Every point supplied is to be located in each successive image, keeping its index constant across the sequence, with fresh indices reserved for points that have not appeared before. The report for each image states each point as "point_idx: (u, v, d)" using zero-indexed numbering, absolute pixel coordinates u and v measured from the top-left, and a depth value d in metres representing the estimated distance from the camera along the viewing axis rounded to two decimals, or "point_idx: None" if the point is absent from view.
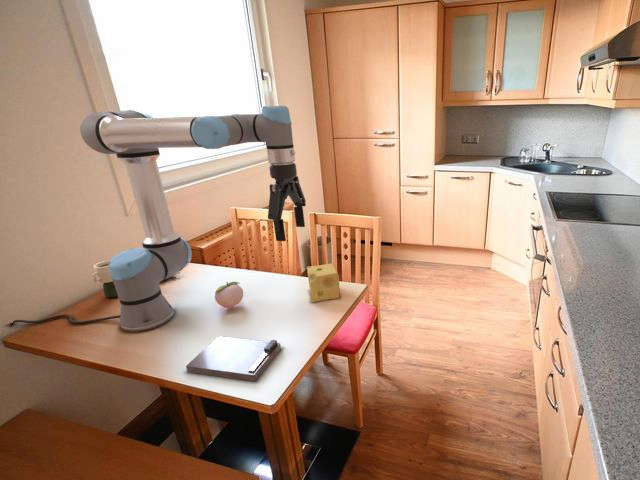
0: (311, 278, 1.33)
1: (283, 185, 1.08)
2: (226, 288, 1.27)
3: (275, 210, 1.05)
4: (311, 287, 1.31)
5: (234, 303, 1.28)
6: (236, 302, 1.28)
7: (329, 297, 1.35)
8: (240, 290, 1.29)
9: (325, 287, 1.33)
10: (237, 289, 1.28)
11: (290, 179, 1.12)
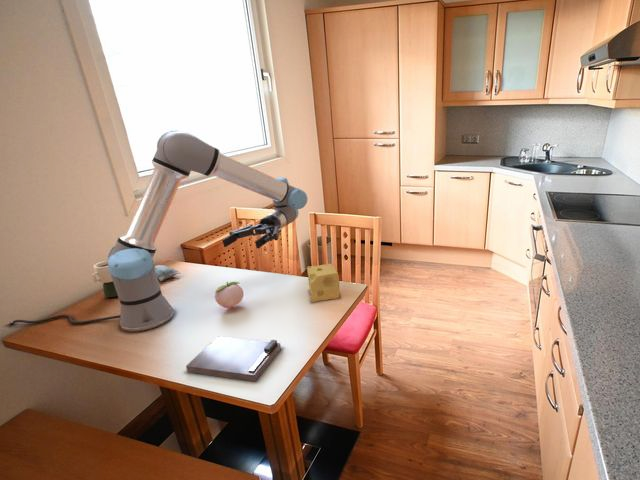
0: (311, 278, 1.33)
1: None
2: (226, 288, 1.27)
3: None
4: (311, 287, 1.31)
5: (234, 303, 1.28)
6: (236, 302, 1.28)
7: (329, 297, 1.35)
8: (240, 290, 1.29)
9: (325, 287, 1.33)
10: (237, 289, 1.28)
11: None
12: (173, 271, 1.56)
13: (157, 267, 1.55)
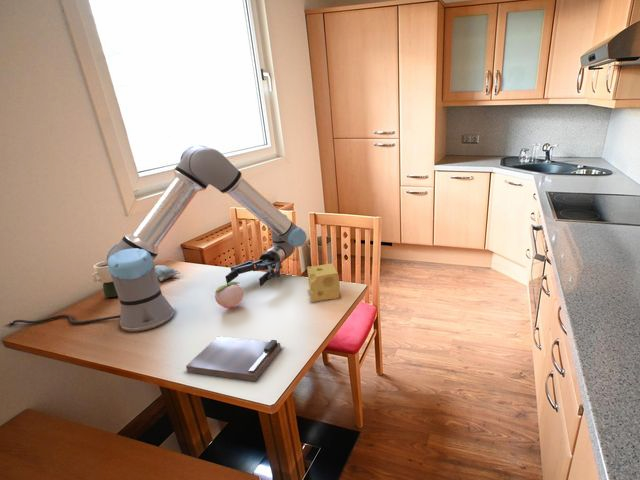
0: (311, 278, 1.33)
1: None
2: (226, 288, 1.27)
3: (279, 273, 1.44)
4: (311, 287, 1.31)
5: (234, 303, 1.28)
6: (236, 302, 1.28)
7: (329, 297, 1.35)
8: (240, 290, 1.29)
9: (325, 287, 1.33)
10: (237, 289, 1.28)
11: None
12: (173, 271, 1.56)
13: (157, 267, 1.55)
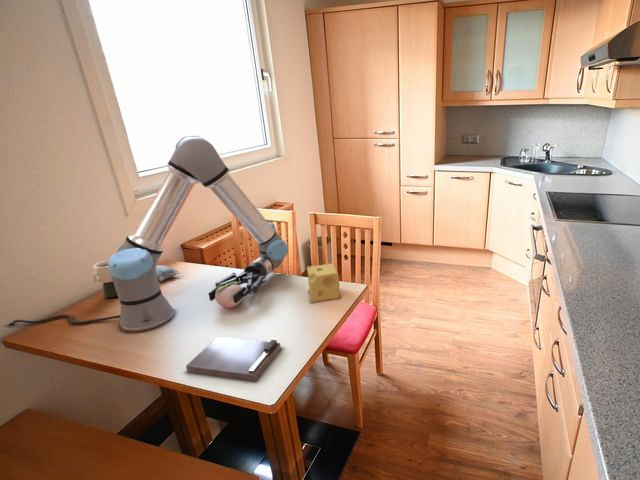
0: (311, 278, 1.33)
1: None
2: (226, 288, 1.27)
3: (258, 289, 1.33)
4: (311, 287, 1.31)
5: (234, 303, 1.28)
6: None
7: (329, 297, 1.35)
8: None
9: (325, 287, 1.33)
10: (237, 289, 1.28)
11: None
12: (173, 271, 1.56)
13: (157, 267, 1.55)
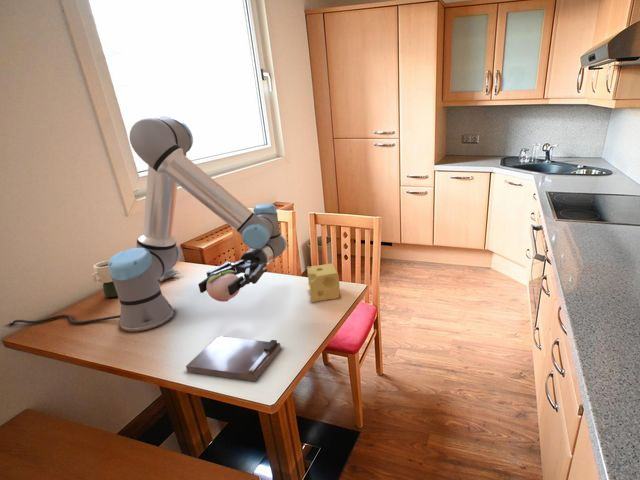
0: (311, 278, 1.33)
1: None
2: (220, 278, 1.06)
3: (258, 279, 1.13)
4: (311, 287, 1.31)
5: (230, 296, 1.07)
6: None
7: (329, 297, 1.35)
8: None
9: (325, 287, 1.33)
10: (233, 279, 1.07)
11: None
12: (173, 271, 1.56)
13: None
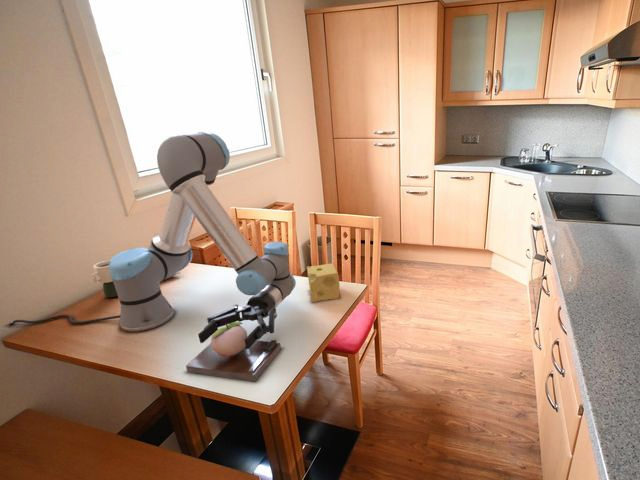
0: (311, 278, 1.33)
1: None
2: (225, 332, 0.98)
3: None
4: (311, 287, 1.31)
5: (236, 351, 0.99)
6: (238, 350, 1.00)
7: (329, 297, 1.35)
8: (243, 334, 1.01)
9: (325, 287, 1.33)
10: (240, 333, 1.00)
11: None
12: None
13: None
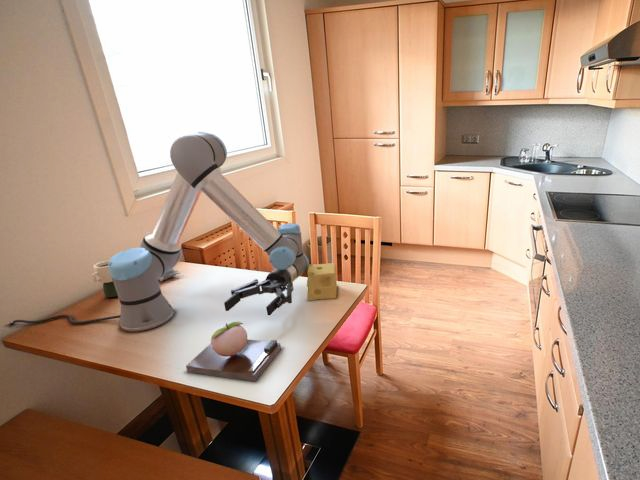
0: (309, 276, 1.34)
1: None
2: (225, 332, 0.98)
3: (291, 298, 1.16)
4: (308, 285, 1.33)
5: (236, 351, 0.99)
6: (238, 350, 1.00)
7: (326, 296, 1.35)
8: (243, 334, 1.01)
9: (322, 286, 1.34)
10: (240, 333, 1.00)
11: None
12: (173, 271, 1.56)
13: None
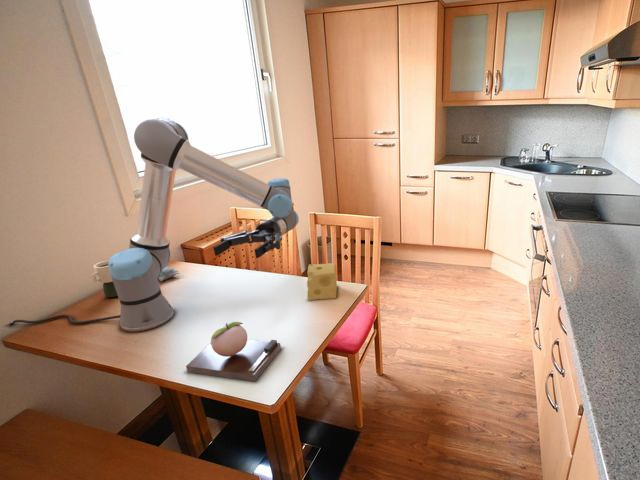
0: (309, 276, 1.34)
1: None
2: (225, 332, 0.98)
3: None
4: (308, 285, 1.33)
5: (236, 351, 0.99)
6: (238, 350, 1.00)
7: (326, 296, 1.35)
8: (243, 334, 1.01)
9: (322, 286, 1.34)
10: (240, 333, 1.00)
11: None
12: (173, 271, 1.56)
13: None
